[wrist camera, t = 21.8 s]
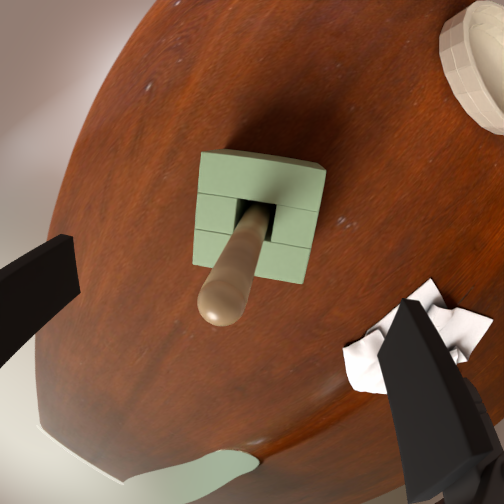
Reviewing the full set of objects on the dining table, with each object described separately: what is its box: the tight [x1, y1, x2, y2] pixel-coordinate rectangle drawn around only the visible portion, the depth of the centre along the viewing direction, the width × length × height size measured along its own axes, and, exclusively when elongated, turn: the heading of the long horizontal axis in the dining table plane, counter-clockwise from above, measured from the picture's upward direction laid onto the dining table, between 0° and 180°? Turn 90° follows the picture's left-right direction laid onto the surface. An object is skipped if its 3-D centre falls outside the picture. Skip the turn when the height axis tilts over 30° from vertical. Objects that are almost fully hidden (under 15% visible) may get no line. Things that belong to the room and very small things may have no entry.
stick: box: [197, 200, 273, 326], centre depth 19 cm, size 2×2×18 cm
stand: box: [193, 149, 327, 284], centre depth 24 cm, size 9×9×7 cm
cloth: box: [343, 278, 493, 394], centre depth 30 cm, size 20×22×2 cm
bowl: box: [439, 0, 504, 135], centre depth 15 cm, size 14×14×6 cm
